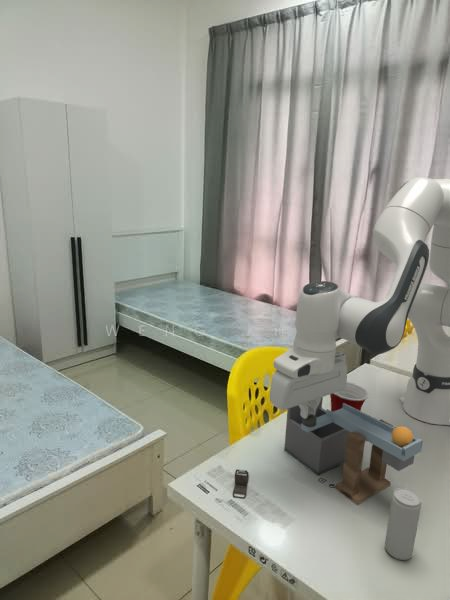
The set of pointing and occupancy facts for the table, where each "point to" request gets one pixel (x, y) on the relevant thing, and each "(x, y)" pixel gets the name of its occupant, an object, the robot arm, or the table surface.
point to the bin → (315, 442)
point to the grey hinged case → (241, 483)
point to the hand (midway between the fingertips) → (307, 416)
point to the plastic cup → (349, 397)
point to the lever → (368, 434)
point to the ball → (402, 436)
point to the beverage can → (402, 523)
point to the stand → (367, 480)
